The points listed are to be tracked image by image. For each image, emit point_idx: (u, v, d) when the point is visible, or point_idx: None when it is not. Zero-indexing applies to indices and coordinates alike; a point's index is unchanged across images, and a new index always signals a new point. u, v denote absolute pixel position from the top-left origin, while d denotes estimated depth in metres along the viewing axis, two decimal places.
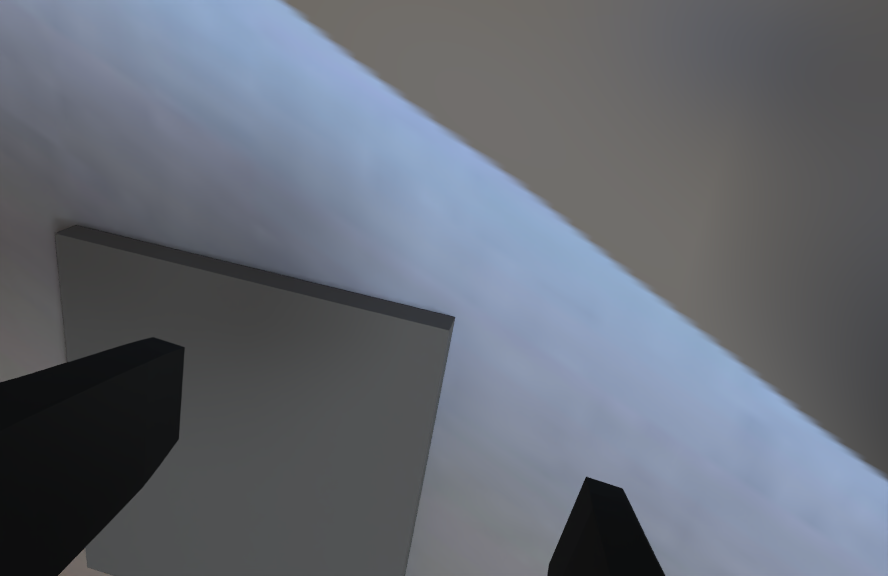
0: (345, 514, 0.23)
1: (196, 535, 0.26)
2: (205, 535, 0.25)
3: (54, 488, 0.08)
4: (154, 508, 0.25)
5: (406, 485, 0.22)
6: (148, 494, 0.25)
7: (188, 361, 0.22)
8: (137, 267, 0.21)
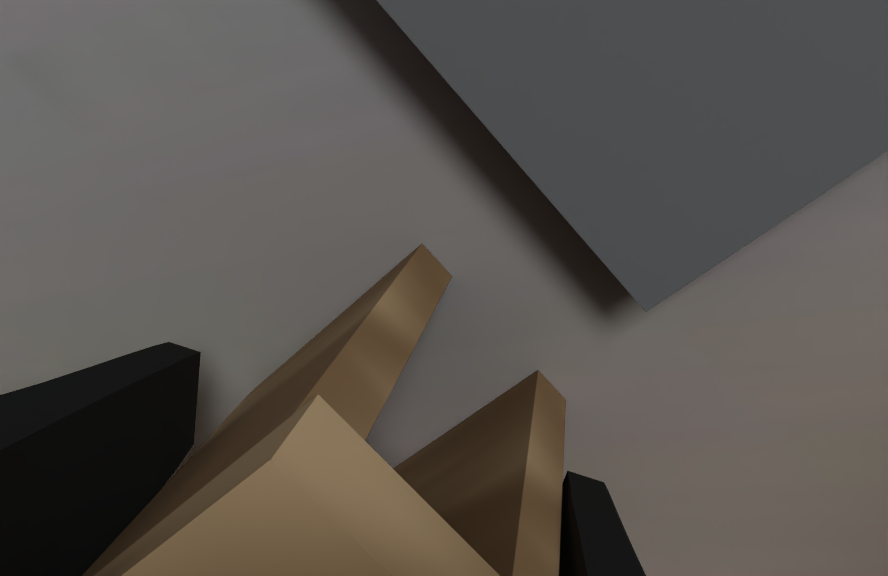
0: None
1: None
2: None
3: (73, 495, 0.08)
4: None
5: None
6: None
7: None
8: None
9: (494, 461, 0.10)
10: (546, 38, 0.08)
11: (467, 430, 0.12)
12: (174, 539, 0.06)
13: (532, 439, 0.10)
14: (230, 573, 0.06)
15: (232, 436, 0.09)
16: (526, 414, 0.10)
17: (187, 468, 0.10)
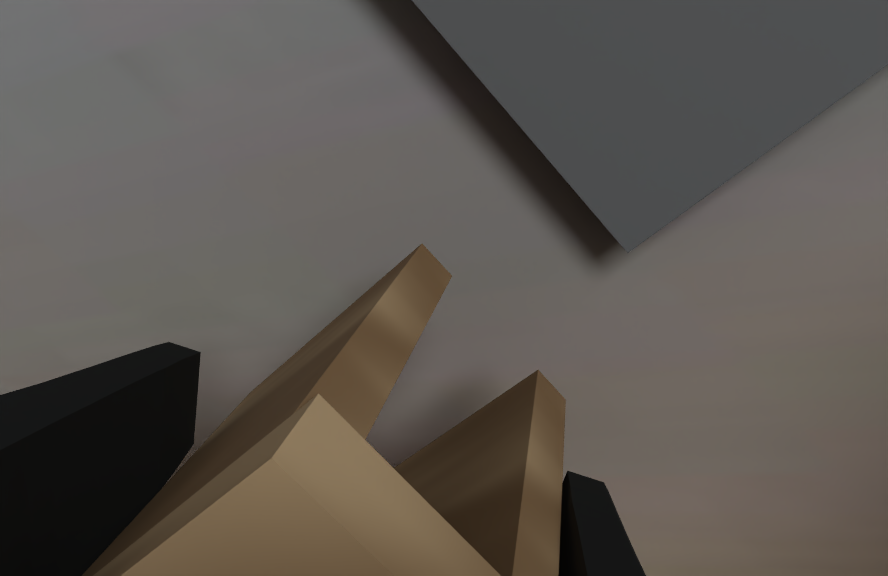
0: None
1: None
2: None
3: (74, 495, 0.08)
4: None
5: None
6: None
7: None
8: None
9: (494, 460, 0.10)
10: (550, 38, 0.11)
11: (467, 429, 0.12)
12: (175, 538, 0.06)
13: (532, 439, 0.10)
14: (231, 572, 0.06)
15: (232, 435, 0.09)
16: (527, 414, 0.10)
17: (187, 467, 0.10)
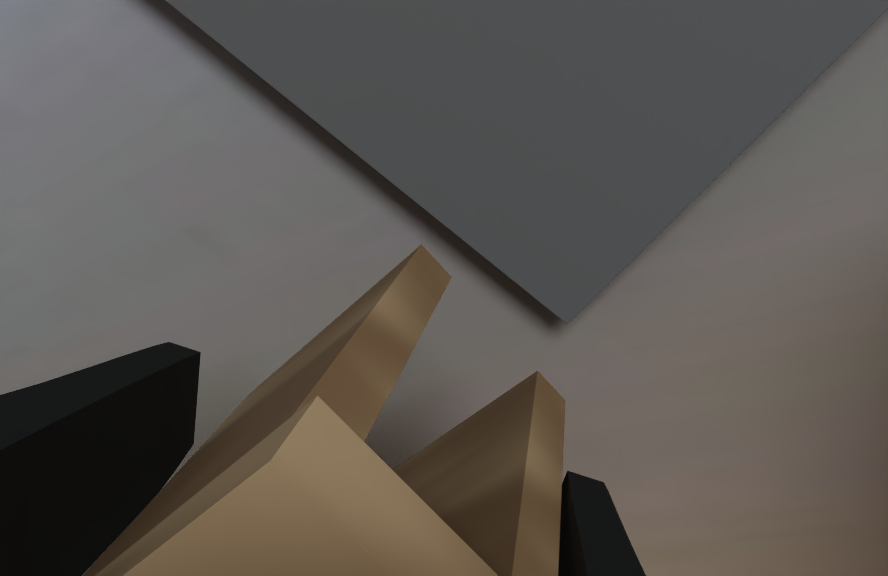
0: None
1: (592, 68, 0.14)
2: (599, 49, 0.14)
3: (74, 495, 0.08)
4: (514, 111, 0.15)
5: None
6: (487, 102, 0.15)
7: None
8: None
9: (493, 462, 0.10)
10: (483, 190, 0.16)
11: (467, 430, 0.12)
12: (174, 540, 0.06)
13: (532, 441, 0.10)
14: (229, 574, 0.06)
15: (232, 437, 0.09)
16: (526, 415, 0.10)
17: (187, 469, 0.10)
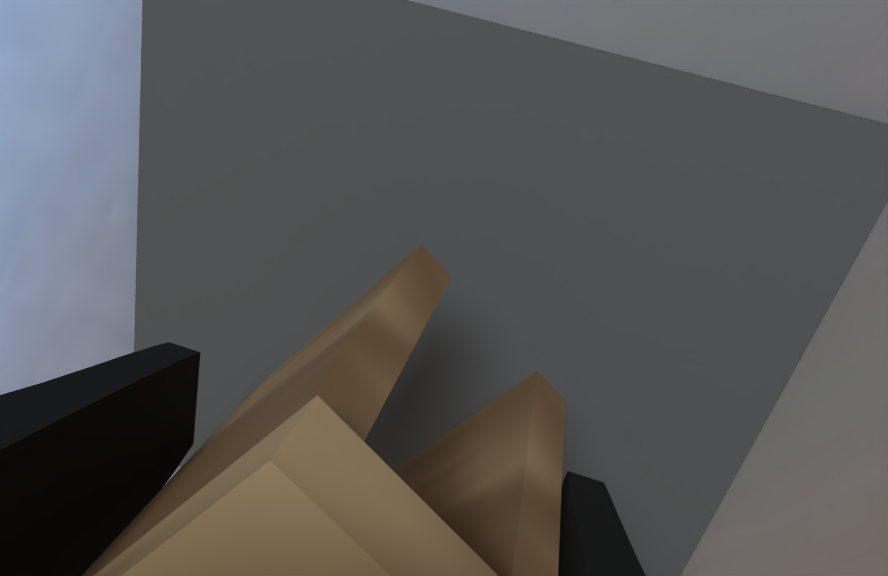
0: (509, 162, 0.13)
1: (573, 435, 0.15)
2: (572, 420, 0.15)
3: (74, 495, 0.08)
4: None
5: (435, 34, 0.13)
6: None
7: (263, 347, 0.16)
8: None
9: (493, 461, 0.10)
10: None
11: (466, 430, 0.12)
12: (173, 540, 0.06)
13: (531, 440, 0.10)
14: (229, 574, 0.06)
15: (231, 437, 0.09)
16: (526, 415, 0.10)
17: (186, 469, 0.10)
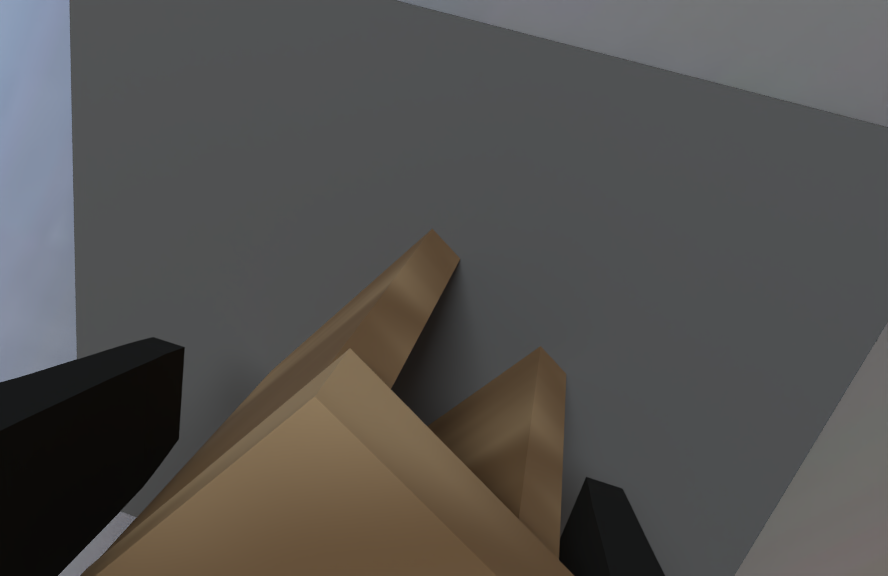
0: (496, 184, 0.11)
1: (571, 491, 0.14)
2: (569, 475, 0.13)
3: (54, 488, 0.08)
4: None
5: (407, 34, 0.11)
6: None
7: (220, 388, 0.14)
8: None
9: (500, 426, 0.11)
10: None
11: (475, 402, 0.13)
12: (228, 471, 0.06)
13: (535, 406, 0.11)
14: (276, 500, 0.06)
15: (263, 400, 0.10)
16: (530, 384, 0.11)
17: (219, 434, 0.11)
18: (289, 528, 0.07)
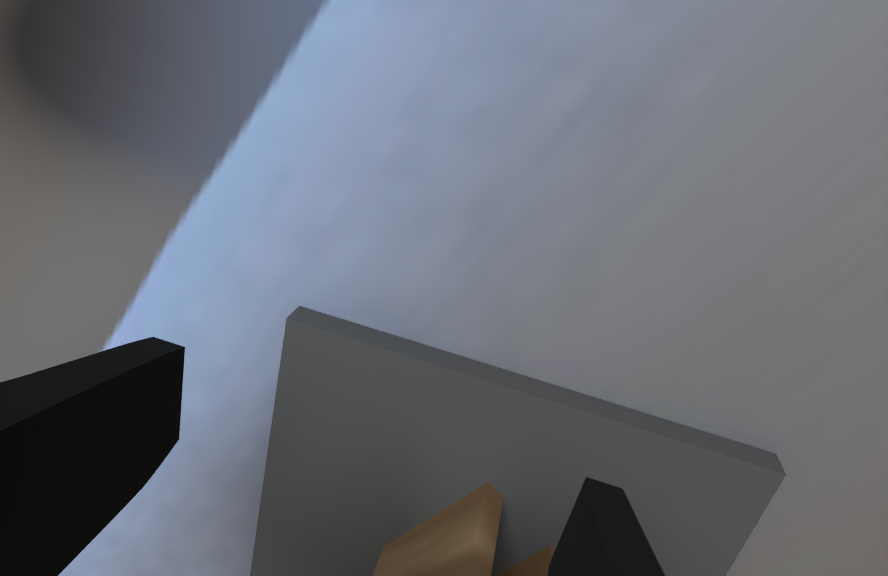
0: (525, 464, 0.20)
1: None
2: None
3: (54, 488, 0.08)
4: None
5: (477, 391, 0.20)
6: None
7: (349, 553, 0.23)
8: (264, 560, 0.24)
9: None
10: None
11: None
12: None
13: None
14: None
15: None
16: None
17: None
18: None
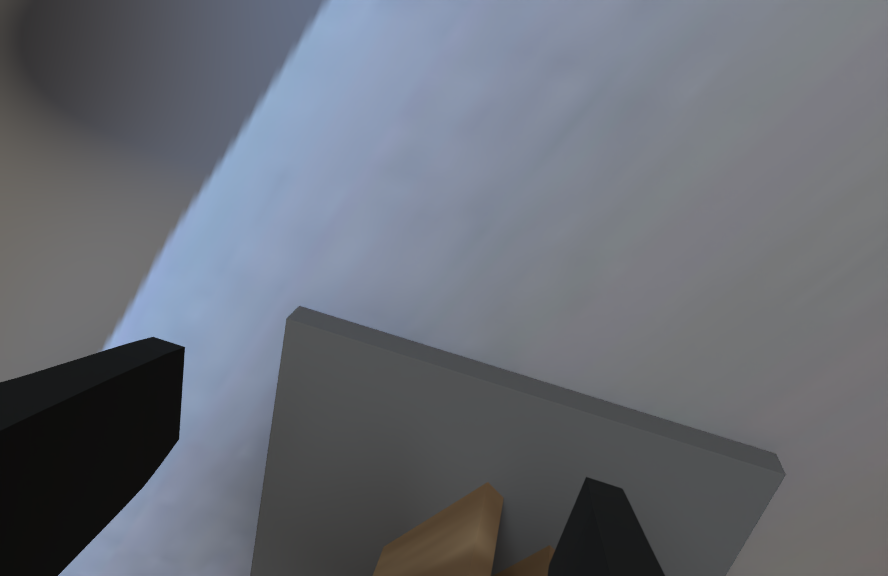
0: (525, 464, 0.20)
1: None
2: None
3: (54, 488, 0.08)
4: None
5: (477, 391, 0.20)
6: None
7: (349, 554, 0.23)
8: (264, 561, 0.24)
9: None
10: None
11: None
12: None
13: None
14: None
15: None
16: None
17: None
18: None
